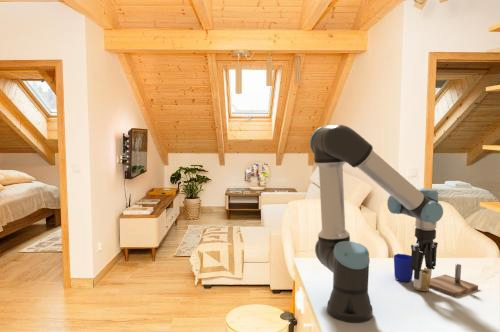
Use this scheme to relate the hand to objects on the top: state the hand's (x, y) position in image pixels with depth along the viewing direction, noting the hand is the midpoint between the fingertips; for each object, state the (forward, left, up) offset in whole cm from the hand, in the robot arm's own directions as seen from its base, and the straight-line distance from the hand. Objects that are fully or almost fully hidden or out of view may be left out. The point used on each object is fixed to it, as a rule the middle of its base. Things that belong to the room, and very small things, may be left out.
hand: (422, 285), depth 151 cm
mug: (+4, +13, -2) cm, 14 cm away
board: (+13, -3, -2) cm, 14 cm away
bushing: (0, 0, -1) cm, 1 cm away
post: (+15, -5, 0) cm, 16 cm away
